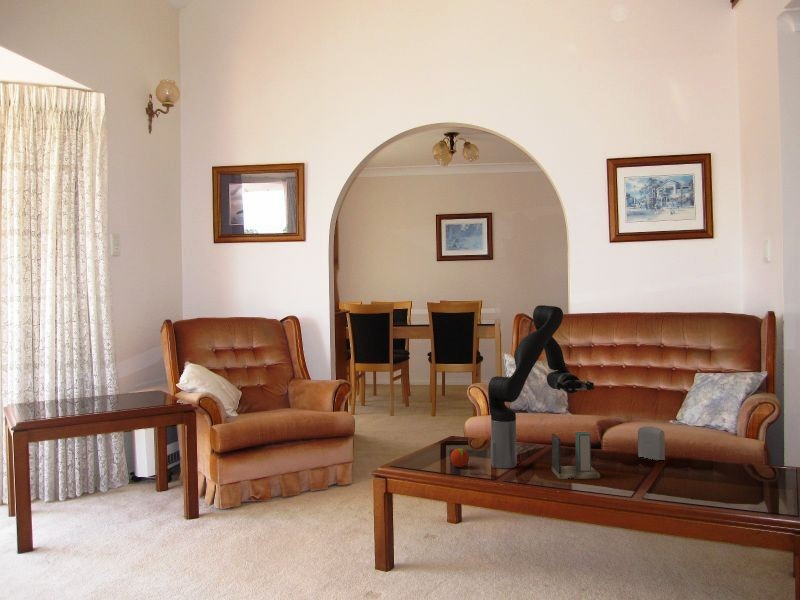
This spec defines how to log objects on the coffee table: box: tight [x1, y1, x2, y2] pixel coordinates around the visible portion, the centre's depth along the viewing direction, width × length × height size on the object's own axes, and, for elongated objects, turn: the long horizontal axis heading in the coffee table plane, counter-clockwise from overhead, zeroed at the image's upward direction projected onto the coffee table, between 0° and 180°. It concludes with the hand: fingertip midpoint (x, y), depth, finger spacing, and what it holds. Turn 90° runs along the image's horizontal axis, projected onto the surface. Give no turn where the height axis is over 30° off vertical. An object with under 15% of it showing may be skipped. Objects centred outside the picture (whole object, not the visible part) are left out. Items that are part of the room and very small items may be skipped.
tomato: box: [450, 447, 470, 468], centre depth 258 cm, size 8×7×7 cm
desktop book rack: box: [551, 433, 601, 480], centre depth 245 cm, size 14×12×14 cm
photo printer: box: [637, 425, 666, 461], centre depth 267 cm, size 10×4×12 cm, turn 39°
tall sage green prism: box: [574, 431, 592, 472], centre depth 245 cm, size 4×5×13 cm
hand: (579, 387), depth 265 cm, fingers open, 8 cm apart
